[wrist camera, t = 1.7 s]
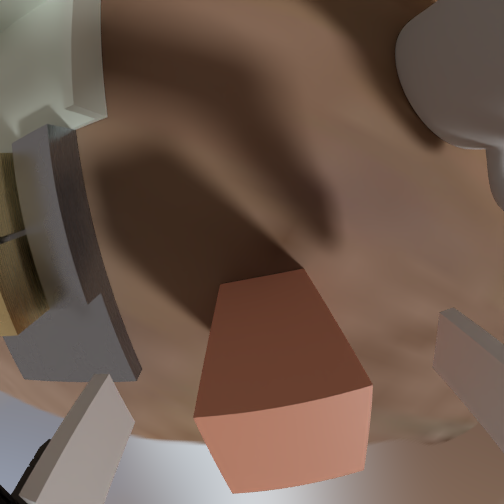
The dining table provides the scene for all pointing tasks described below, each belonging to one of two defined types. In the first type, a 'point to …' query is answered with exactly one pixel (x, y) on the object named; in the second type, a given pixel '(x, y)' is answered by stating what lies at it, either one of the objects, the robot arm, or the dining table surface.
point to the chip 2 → (19, 288)
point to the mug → (458, 76)
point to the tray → (49, 66)
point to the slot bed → (65, 269)
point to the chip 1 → (9, 198)
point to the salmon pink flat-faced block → (281, 387)
